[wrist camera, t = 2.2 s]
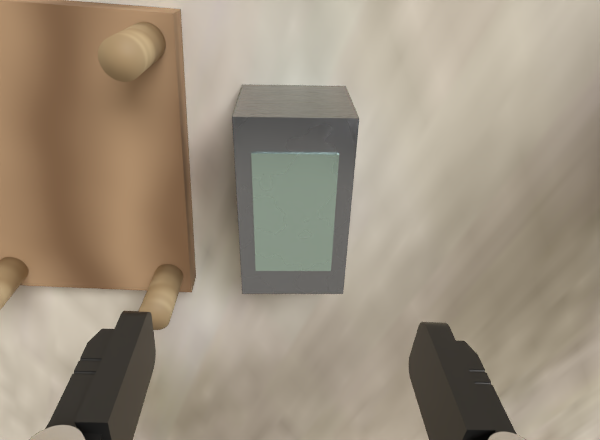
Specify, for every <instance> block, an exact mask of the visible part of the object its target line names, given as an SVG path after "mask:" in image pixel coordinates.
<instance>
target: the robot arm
mask: <svg viewBox="0 0 600 440" xmlns="http://www.w3.org/2000/svg"><path fill="white" fill-rule="evenodd" d="M154 363H155V340H154V332H153V323H152V315H151V313H150V312H140V311H123V312H122V314H121V316H120V318H119V320H118V322H117V325H116V327H115V329H101V330H100V331H99V332H98V333H97V334H96V335H95V336H94V337H93V338H92V339H91V340H90V341H89V342H88V343H87V345H86V347H85V349H84V351H83V354H82V356H81V358H80V361H79V362H78V364H77V366H76V368H75V370H74V374H72V376H71V378H70V380H69V383H68V385H67V387H66V389H65V391H64V393H63V395H62V397H61V399H60V401H59V403H58V405H57V407H56V409H55V411H54V414H53V416H52V418H51V420H50V422H49V423H48V425H47V427H46V428H45V429H44V430H42V431H40V432H38V433H37V434H35V435H34V436H33V437H31V438H30V439H29V440H133V436H134V433H135V430H136V426H137V423H138V420H139V416H140V413H141V409H142V406H143V403H144V399H145V396H146V393H147V389H148V386H149V382H150V379H151V376H152V372H153V369H154ZM409 374H410V379H411V382H412V385H413V389H414V392H415V395H416V398H417V402H418V405H419V408H420V411H421V415H422V418H423V421H424V424H425V428H426V431H427V434H428V437H429V440H526V439H524V438H523V437H521V436H519V435H517V434H516V432H515V430H514V428H513V426H512V424H511V422H510V420H509V418H508V416H507V414H506V412H505V410H504V408H503V406H502V404H501V402H500V400H499V398H498V396H497V394H496V392H495V390H494V387H493V385H491V381H490V379H489V377H488V375H487V373H485V369H484V367H483V365H482V363H481V361H480V359H479V357H478V355H477V354H476V353H475V352H474V351H473V350H472V348H471V347H470V346H469V345H468V344H467V343H466V342H465V341H456V340H455V338H454V336H453V334H452V331H451V329H450V327H449V325H448V324H447V323H433V322H421V323H420V325H419V327H418V330H417V333H416V337H415V340H414V343H413V347H412V350H411V354H410V357H409Z"/></svg>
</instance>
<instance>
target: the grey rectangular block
mask: <svg viewBox="0 0 600 440" xmlns="http://www.w3.org/2000/svg"><path fill="white" fill-rule="evenodd" d="M232 123H233V140H234V157H235V174H236V191H237V209H238V226H239V243H240V260H241V277H242V294H343V289H344V278H345V267H346V256H347V245H348V234H349V223H350V212H351V201H352V190H353V179H354V168H355V158H356V147H357V136H358V125H359V117H358V115H357V112H356V110H355V107H354V105H353V103H352V100H351V98H350V96H349V93H348V91H347V88H346V86H300V85H242V88H241V91H240V94H239V97H238V100H237V103H236V106H235V110H234V113H233V116H232Z"/></svg>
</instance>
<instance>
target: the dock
mask: <svg viewBox="0 0 600 440" xmlns="http://www.w3.org/2000/svg"><path fill="white" fill-rule="evenodd" d="M195 278H196V270H195V252H194V235H193V218H192V200H191V183H190V165H189V148H188V131H187V113H186V96H185V78H184V61H183V43H182V26H181V9H170V8H157V7H145V6H132V5H119V4H106V3H93V2H80V1H67V0H0V310H1V308H2V307H3V306H4V305H5V303H6V302H7V301H8V299H9V298H10V297H11V296H12V294H13V293H14V292H15V291H16V289H17V288H18V287H19V286H20V285H28V286H52V287H76V288H101V289H125V290H147V292H146V295H145V297H144V300H143V302H142V305H141V307H140V309H139V311H140V312H150V313H151V315H152V323H153V330H160V329H163V328H165V327H166V326H167V325H168V324H169V321H170V318H171V315H172V312H173V309H174V306H175V302H176V299H177V296H178V293H179V292H192V288H193V285H194V281H195Z"/></svg>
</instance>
